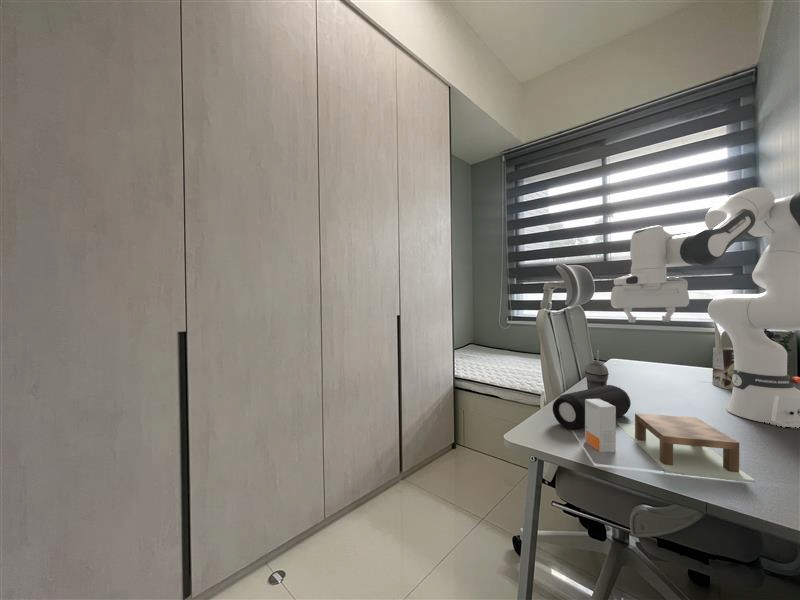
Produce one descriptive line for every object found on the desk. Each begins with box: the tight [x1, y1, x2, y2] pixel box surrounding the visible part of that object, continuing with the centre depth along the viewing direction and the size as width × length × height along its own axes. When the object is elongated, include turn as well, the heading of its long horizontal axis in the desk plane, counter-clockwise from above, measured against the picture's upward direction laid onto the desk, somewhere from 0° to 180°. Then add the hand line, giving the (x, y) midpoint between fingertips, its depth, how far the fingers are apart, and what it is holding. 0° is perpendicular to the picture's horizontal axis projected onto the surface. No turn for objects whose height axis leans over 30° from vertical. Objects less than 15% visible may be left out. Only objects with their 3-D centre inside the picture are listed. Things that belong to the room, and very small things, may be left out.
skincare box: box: [584, 399, 617, 453], centre depth 81 cm, size 6×4×12 cm
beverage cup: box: [584, 349, 610, 389], centre depth 111 cm, size 7×7×20 cm
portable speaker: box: [552, 384, 632, 430], centre depth 97 cm, size 26×10×10 cm, turn 115°
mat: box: [616, 422, 756, 483], centre depth 80 cm, size 16×26×1 cm, turn 165°
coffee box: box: [712, 346, 734, 390], centre depth 129 cm, size 9×6×16 cm
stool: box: [634, 412, 740, 472], centre depth 77 cm, size 14×7×14 cm
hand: (649, 321), depth 99 cm, fingers open, 8 cm apart
